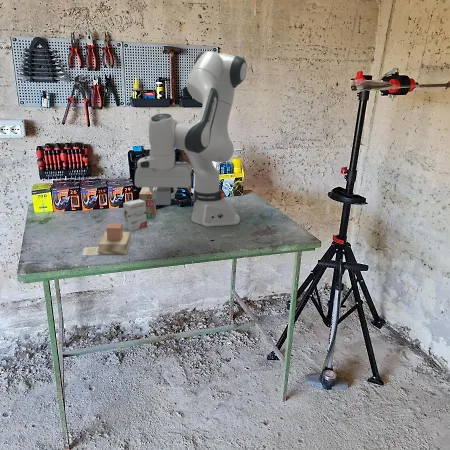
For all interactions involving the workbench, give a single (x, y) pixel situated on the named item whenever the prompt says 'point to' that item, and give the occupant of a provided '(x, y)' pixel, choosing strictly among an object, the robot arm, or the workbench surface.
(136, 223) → the ink box
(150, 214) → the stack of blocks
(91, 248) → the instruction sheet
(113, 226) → the terracotta brick
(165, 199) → the grey brick
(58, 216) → the workbench surface
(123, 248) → the base brick
